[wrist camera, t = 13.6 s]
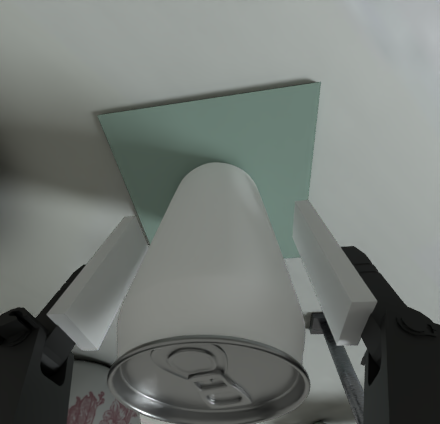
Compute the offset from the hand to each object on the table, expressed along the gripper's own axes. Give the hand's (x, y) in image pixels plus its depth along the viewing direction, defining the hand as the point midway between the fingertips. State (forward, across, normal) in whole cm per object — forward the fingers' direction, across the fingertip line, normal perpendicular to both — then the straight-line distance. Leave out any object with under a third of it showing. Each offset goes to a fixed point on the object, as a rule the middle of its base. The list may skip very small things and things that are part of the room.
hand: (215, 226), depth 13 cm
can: (+4, 0, 0) cm, 4 cm away
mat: (+4, 0, 0) cm, 4 cm away
